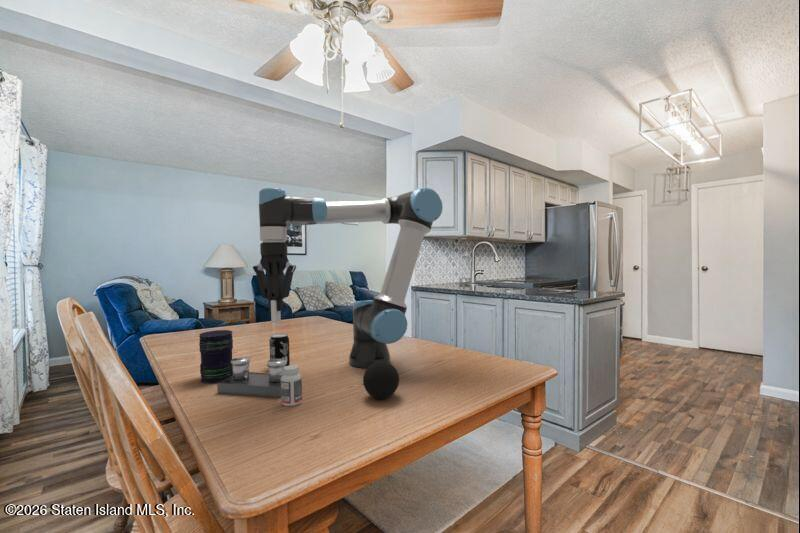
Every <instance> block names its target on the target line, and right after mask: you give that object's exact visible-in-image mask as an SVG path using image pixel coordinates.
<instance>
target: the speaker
mask: <svg viewBox="0 0 800 533" xmlns="http://www.w3.org/2000/svg"><path fill="white" fill-rule="evenodd" d="M362 383H363V387H364V389H365V391H366V392H367V394H368V395H370V397H372V398H375V399H380V400H382V399H387V398H389V397H391V396H393V394H394V393H395V392H396V391H397V389H398V387H399V383H400V376H399V373H398V370H397V368H396V367H395V366H394V364H391V362H390V363H388V362H385V361H378V362H375V363H373V364H371V365H370V366H369V367H368V368H365V371H364V374H363V378H362Z"/></svg>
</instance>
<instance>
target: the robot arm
mask: <svg viewBox="0 0 800 533" xmlns="http://www.w3.org/2000/svg"><path fill="white" fill-rule="evenodd" d="M258 213H259V214H258V215H259V216H258V217H259V241H260V242H261V243H260V244H259V246H260V248H259V249H260V256H261V258H260V260H259V263H258V264H257V265H254V266H252V269H253V271H254V272H255V274H256V278H257V281H258V286H259V291H260V294H261V297H262V298H263V299H264V298H265V299H266V300H267V301H268V312H270V314H271V315H270V316H271V317H270V318H271V320H270V321H271V322H270V323H272V324H273V323H274V324H276V323H280V322H281V321H282V319H281V316H282V315H281V311H283V309H284V303H283V301H284V299H286V298H288V297H289V296H290V291H291V286H292V281H293V276H294V273H295V270H296V269H297V266H296V264H292V263H290V261H289V259H288V243H287V242H286V241H287V240H288V235H287V234H288V231H287V230H288V228H287V223H289V224H290V225H292V226H294V227H302V226H311V225H312V226H313V225H329V224H330V225H332V224H349V223H350V224H351V223H352V224H353V223H366V222H367V223H370V222H371V223H372V222H373V223H374V222H381V223H383V224H385V225H387V224H388V225H389V224H391V225H393V224H396V225H399V226H400V229H399V232H398V236H397V238H396V241H395V242H396V243H395V245H394V247H393V251H392V255H391V259H390V261H389V264H388V267H387V271H386V274H385V277H384V280H383V284H382V285H381V286H382V287H381V290H380V293H379V294H378V295H376V296H374V297H373V299H370V300H357V301H355V302H353V304H352V306H353V307H352V324H353V328H352V329H353V343H352V345H351V350H350V353H349V356H348V363H349V365H350V366H352V367H356V368H363V369H367V368H368V367H369V366H370V365H371V364H373V363H375V362H378V361H385V362H388V363H390V364H391V354H390V351H389V348H388V344H394V343H398V342H399V341H400V340H401V339H403V337H404V336H405V334H406V332H407V331H408V330H407V329H408V321H407V317H406V312H407V309H408V306H407V304H406V302H405V301H406V297H407V293H408V290H409V287H410V284H411V281H412V276H413V275H414V270H415V268H416V264H417V261H418V258H419V254H420V251H421V248H422V244H423V240H424V237H425V236H426V235H427V234H429V233H430V232H431V229H432V226H433V223H434V222H436V221H437V220H438V219H439V218H440V217H441V215H442V213H443V202H442V199H441V197H440V195H439V194H438V193H437V191H435V190H434V189H433V188H429V187H418V188H415V189H414V190H412V191H411V190H410V191H408V192H405V193H402V194H399V195H396V196H391V197H383V198H381V199H380V200H354V201H353V200H351V201H349V200H348V201H347V200H346V201H326V199H324V198H321V197H304V196H303V197H302V196H298V197H297V196H289V195H287V193H286V190H285V189H283V188H278V187H265V188H262V189H260V190H259V192H258ZM285 270H286V271H285ZM284 271H285V273H284ZM283 277H284V278H283Z"/></svg>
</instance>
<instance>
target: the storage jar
mask: <svg viewBox="0 0 800 533" xmlns="http://www.w3.org/2000/svg"><path fill="white" fill-rule="evenodd" d="M198 344H199V353H200V364H199V371H200V377H201V378H200V382H201V383H203V384H217V383H218V382H220V381H222V380H224V379H226V378H228V377H230V376H232V375H233V365H232V364H231V360H232V359H233V348H234V339H233V331H232V330H229V329H228V330H226V329H220V330H219V329H217V330H211V331H205V332H201V333H199V343H198Z"/></svg>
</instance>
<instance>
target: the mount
mask: <svg viewBox="0 0 800 533" xmlns="http://www.w3.org/2000/svg"><path fill="white" fill-rule="evenodd" d="M216 385H217V386H216V388H217V394H222V395H224V394H225V395H237V396H249V397H250V396H252V397H261V398H264V397H265V398H276V399H280V398H282V395H281V381H280V382H271V381H269V372H261V371H260V372H259V371H258V372H257V371H249V377H248V378H245V379H243V380H241V379H233V375H232V376H230V377H228V378H226V379H224V380H222V381H220V382H218V383H216Z"/></svg>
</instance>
